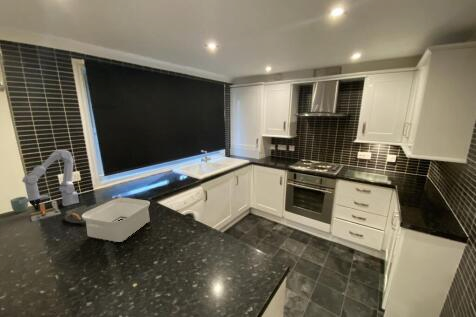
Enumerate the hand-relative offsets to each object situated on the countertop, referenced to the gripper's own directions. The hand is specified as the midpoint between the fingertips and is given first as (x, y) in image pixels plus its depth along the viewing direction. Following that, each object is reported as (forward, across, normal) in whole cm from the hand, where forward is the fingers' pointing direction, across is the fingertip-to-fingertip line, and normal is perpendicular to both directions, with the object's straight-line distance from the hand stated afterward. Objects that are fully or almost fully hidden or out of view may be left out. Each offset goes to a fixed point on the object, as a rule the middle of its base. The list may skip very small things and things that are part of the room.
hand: (36, 209), depth 137 cm
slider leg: (+3, -3, +3) cm, 5 cm away
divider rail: (+3, -4, +3) cm, 6 cm away
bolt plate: (+3, -4, +8) cm, 9 cm away
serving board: (+4, -30, +29) cm, 42 cm away
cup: (+4, +8, -15) cm, 17 cm away
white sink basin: (+4, -32, +68) cm, 75 cm away
